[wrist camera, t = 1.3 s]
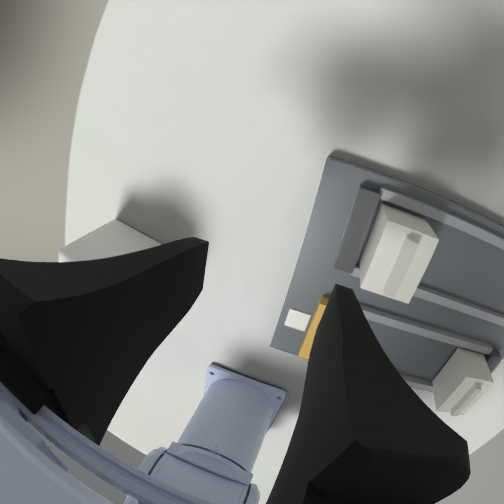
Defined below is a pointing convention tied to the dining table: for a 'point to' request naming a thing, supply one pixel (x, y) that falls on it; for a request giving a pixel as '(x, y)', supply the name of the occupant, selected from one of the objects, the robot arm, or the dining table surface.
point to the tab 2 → (461, 382)
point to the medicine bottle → (106, 243)
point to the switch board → (428, 290)
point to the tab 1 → (396, 254)
